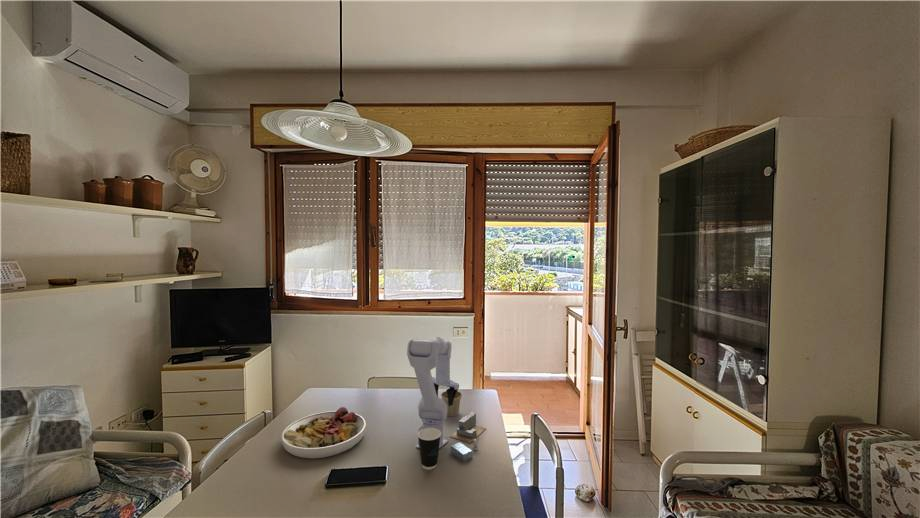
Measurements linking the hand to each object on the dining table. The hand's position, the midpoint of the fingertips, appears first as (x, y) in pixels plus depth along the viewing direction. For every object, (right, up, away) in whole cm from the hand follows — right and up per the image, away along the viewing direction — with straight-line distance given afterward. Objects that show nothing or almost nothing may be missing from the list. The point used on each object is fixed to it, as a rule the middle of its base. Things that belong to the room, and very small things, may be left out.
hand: (443, 402), depth 155 cm
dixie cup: (-3, -11, -27) cm, 29 cm away
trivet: (+10, -10, -5) cm, 15 cm away
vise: (+9, -11, -19) cm, 24 cm away
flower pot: (+3, -10, +13) cm, 16 cm away
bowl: (-44, -11, -10) cm, 47 cm away
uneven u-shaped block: (+11, -10, -4) cm, 16 cm away
